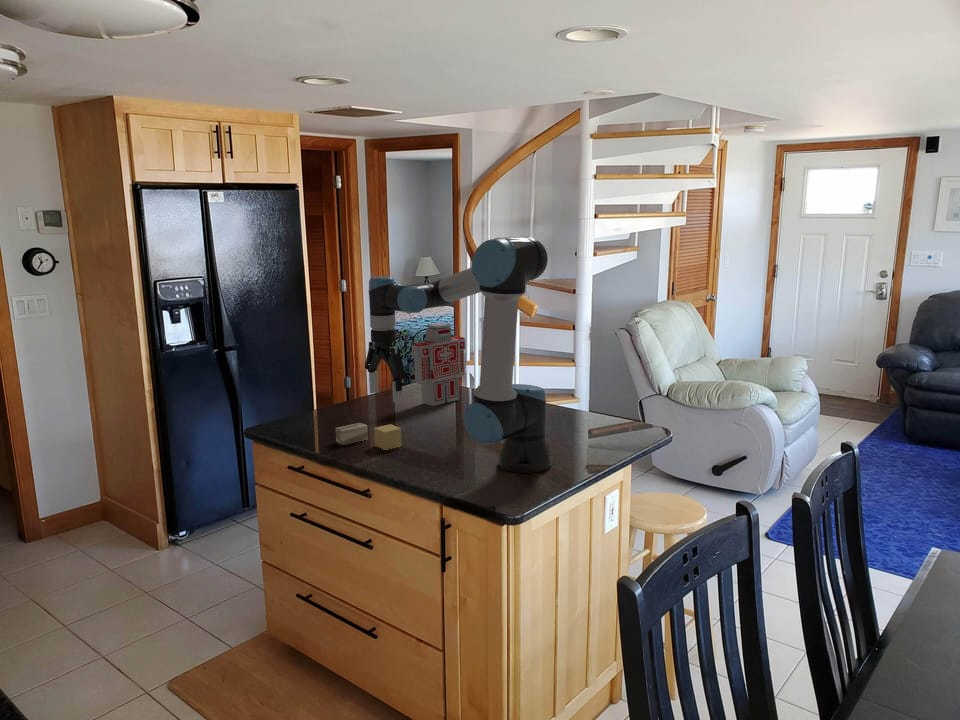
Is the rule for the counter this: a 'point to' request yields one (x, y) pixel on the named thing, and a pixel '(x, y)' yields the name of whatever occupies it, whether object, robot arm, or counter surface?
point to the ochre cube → (388, 437)
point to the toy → (439, 364)
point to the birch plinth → (351, 433)
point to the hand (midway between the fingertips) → (385, 396)
